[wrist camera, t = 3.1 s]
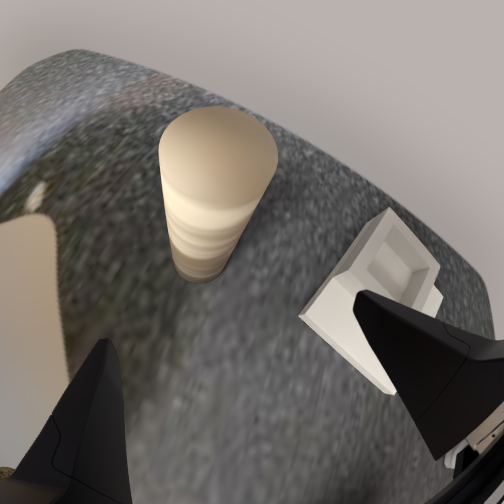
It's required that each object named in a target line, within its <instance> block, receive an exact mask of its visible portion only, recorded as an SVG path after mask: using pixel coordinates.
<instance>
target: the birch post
mask: <svg viewBox="0 0 504 504" xmlns="http://www.w3.org/2000/svg"><path fill="white" fill-rule="evenodd" d="M159 160H160V170H161V179H162V188H163V196H164V203H165V211H166V218H167V225H168V231H169V238H170V244H171V250H172V256H173V262H174V266H175V268H176V270H177V272H178V273H179V274H180V275H181V276H182V277H183V278H184V279H186V280H188V281H190V282H193V283H207V282H210V281H212V280H214V279H215V278H216V277H218V276H219V274H220V273H221V272H222V270H223V268H224V267H225V265H226V263H227V261H228V259H229V257H230V255H231V253H232V251H233V250H234V248H235V246H236V244H237V242H238V240H239V238H240V236H241V235H242V233H243V231H244V229H245V227H246V225H247V223H248V221H249V220H250V218H251V216H252V214H253V212H254V210H255V208H256V207H257V205H258V203H259V201H260V199H261V197H262V196H263V194H264V192H265V190H266V188H267V186H268V185H269V183H270V181H271V179H272V177H273V175H274V173H275V171H276V168H277V165H278V150H277V146H276V143H275V140H274V139H273V137H272V135H271V134H270V132H269V131H268V129H267V128H266V127H265V126H264V125H263V124H262V123H260V122H259V121H258V120H257V119H255V118H254V117H252V116H250V115H248V114H246V113H244V112H242V111H239V110H236V109H232V108H228V107H218V106H212V107H203V108H198V109H194V110H191V111H189V112H186V113H184V114H182V115H181V116H179V117H178V118H176V119H175V120H174V121H173V122H172V123H171V124H170V125H169V126H168V127H167V128H166V130H165V131H164V133H163V135H162V137H161V140H160V144H159Z"/></svg>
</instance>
